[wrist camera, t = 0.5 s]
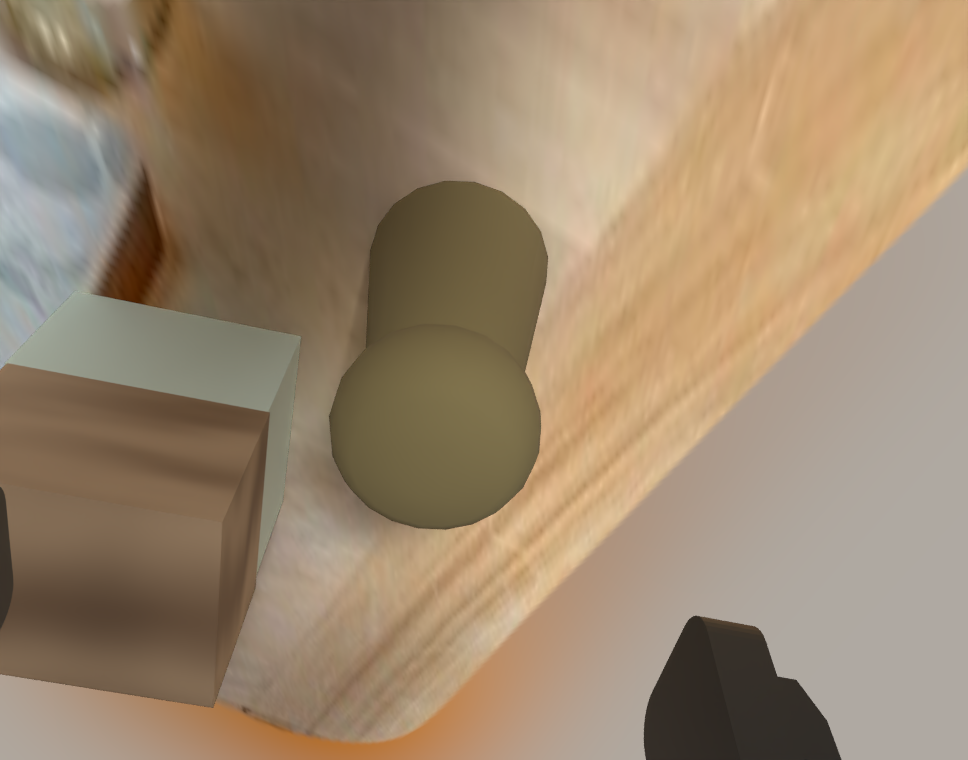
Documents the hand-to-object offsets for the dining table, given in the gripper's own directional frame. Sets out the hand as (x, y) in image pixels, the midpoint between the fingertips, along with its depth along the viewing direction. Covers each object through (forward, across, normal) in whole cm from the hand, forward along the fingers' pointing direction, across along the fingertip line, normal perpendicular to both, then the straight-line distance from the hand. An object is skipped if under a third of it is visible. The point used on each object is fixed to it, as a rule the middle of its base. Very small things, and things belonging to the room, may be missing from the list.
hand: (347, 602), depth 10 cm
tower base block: (+20, +8, +12) cm, 24 cm away
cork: (+20, -1, +4) cm, 20 cm away
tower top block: (+15, +8, +12) cm, 21 cm away
